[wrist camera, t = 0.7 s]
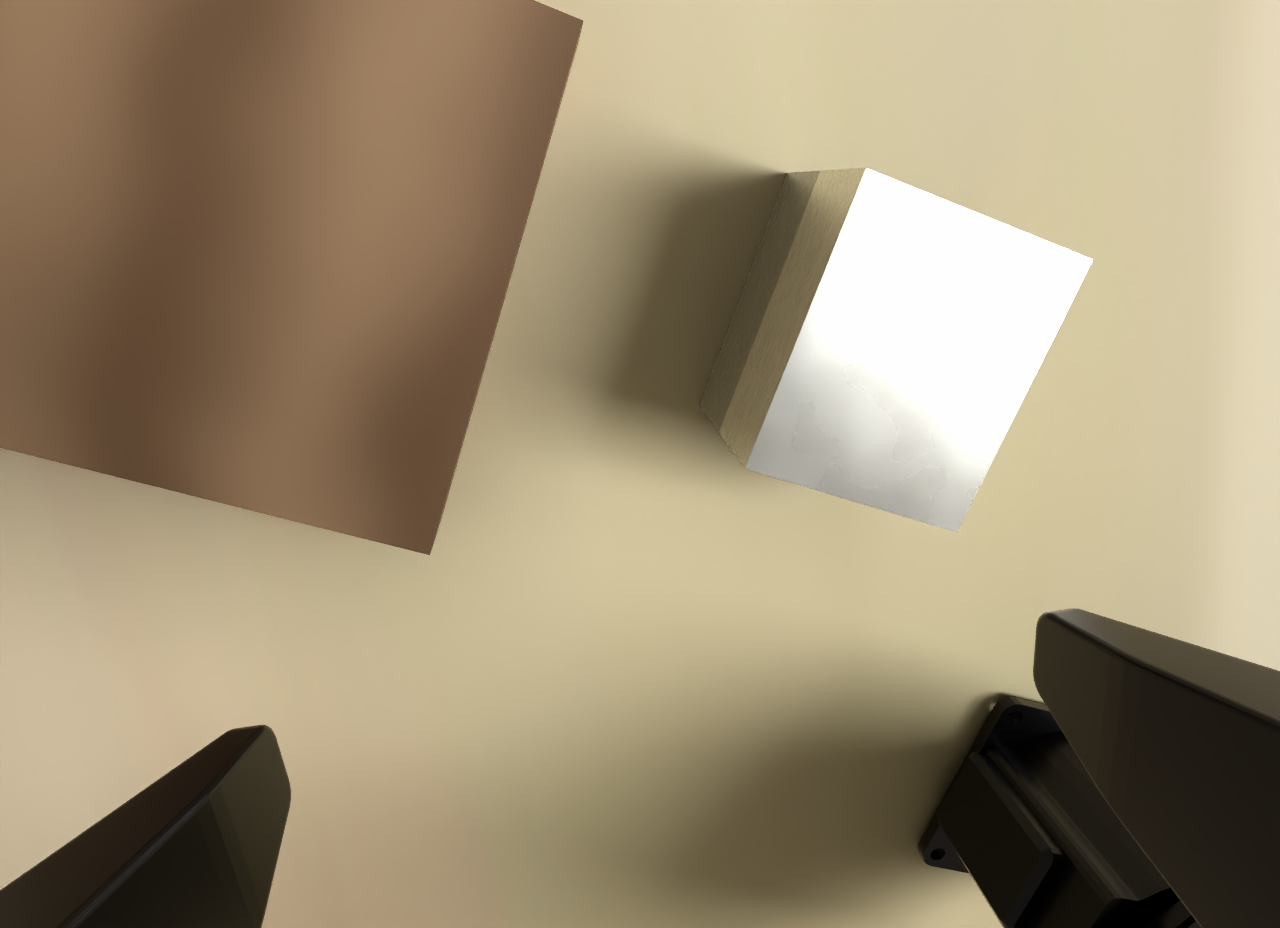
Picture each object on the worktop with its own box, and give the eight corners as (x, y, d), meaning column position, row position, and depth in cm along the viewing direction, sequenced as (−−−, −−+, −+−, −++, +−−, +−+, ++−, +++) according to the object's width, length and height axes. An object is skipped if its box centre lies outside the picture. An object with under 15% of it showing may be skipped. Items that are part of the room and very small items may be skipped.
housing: (963, 242, 20) (1093, 259, 15) (866, 457, 21) (956, 532, 17) (785, 173, 19) (866, 167, 14) (698, 404, 20) (744, 468, 16)
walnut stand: (579, 39, 17) (583, 21, 15) (440, 521, 20) (429, 554, 19) (-32, -208, 15) (-117, -267, 13) (-77, 387, 18) (-149, 410, 16)
